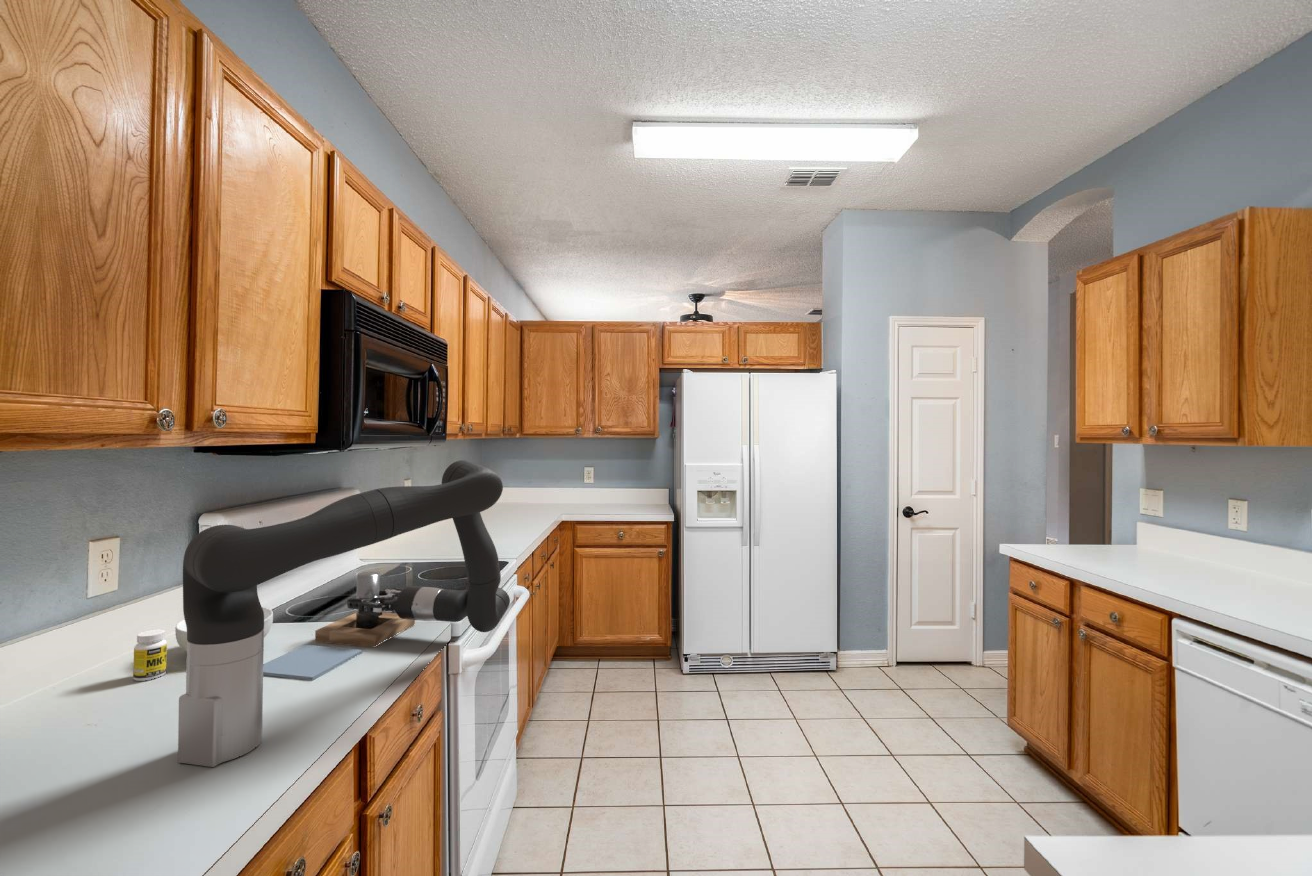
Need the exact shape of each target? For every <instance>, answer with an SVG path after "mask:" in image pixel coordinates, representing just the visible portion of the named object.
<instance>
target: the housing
mask: <svg viewBox="0 0 1312 876" xmlns="http://www.w3.org/2000/svg"><path fill="white" fill-rule="evenodd" d="M414 624H415V625H416V620H408V619H401V618H400V617H399V616H398V614H397V613H396V612H395V613H393V612H382V615H381V616H379V626H377V627H375V628H373V629H363V628H355V627H356V612H354V613H351V614H350V615H348V616H345V617H343V618H341V619H339V620H336V621H334V622H332V623H329V624H327V625H325V626H322V627H320V628H318V629H317V630H316V629H315V630H314V631H315V632H314V634H315V639H314V640H315V641H314V642H315V643H325V642H327V643H328V644H337V645H346V644H350V645H349V646H356V647H357V646H360V647H367V646H376V645H378V644H379V643H381V642H383V641H384V640H386V639H389V638H390V637H392V638H394V637H395V636H394V635H396V634H397V633H399V632H401V633H403V632H404V631H403V630H405V629H407V628H409V627H410V628H412V627H414V626H415V625H414ZM413 625H414V626H413ZM411 626H412V627H411ZM410 628H409V629H410ZM407 630H408V629H407ZM402 631H403V632H402ZM405 631H406V630H405ZM393 636H394V637H393ZM396 636H397V635H396ZM389 640H390V639H389ZM383 643H384V642H383ZM378 646H379V645H378ZM376 647H377V646H376Z"/></svg>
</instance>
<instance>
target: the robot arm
mask: <svg viewBox="0 0 1312 876" xmlns="http://www.w3.org/2000/svg"><path fill="white" fill-rule="evenodd" d="M503 490H504V486H503V481H502V479H501V477H500V476H499V474H497V473H496V472H495V471H494V470H491V469H490V468H488V467H486V466H483V465H481V464H478V463H475V462H473V461H470V460H462V459H461V460H457V461H454V462H452V463H451V464H450V465H448V466H447V468H446V469H445V471H444V472H443V475H442V478H441V484H437V485H436V484H435V485H420V486H419V485H417V486H415V485H414V486H413V485H410V486H409V485H405V486H404V485H403V486H400V485H399V486H390V487H389V486H386V487H381V488H380V487H379V488H376V489H371V490H367V491H364V492H363V491H362V492H360V493H355V494H351V495H349V496H346V497H344V498H341V499H338V500H336V501H334V502H332V503H330V504H327V505H326V506H324V507H323V508H320V509H319V510H317V511H314V512H313V513H311V514H308V515H307V516H304V517H301V518H298V519H294V520H291V521H285V522H281V523H278V524H277V523H276V524H273V525H272V524H271V525H268V526H262V527H256V528H244V527H241V526H239V525H234V524H218V525H217V524H216V525H214V526H210V527H207V528H205V529H204V530H202V531H200V532H199V533H197V534H196V535H195V536H194V537H193V538H192V539H191V540H190V541H189V543H188V544H187V546H186V548H185V550H184V551H185V552H184V554H183V561H182V606H183V607H182V609H183V610H182V611H183V618H184V619H185V622H186V627H187V651H186V667H185V670H186V672H185V673H186V675H185V678H186V679H185V681H186V682H185V693H184V694H181V695H180V696H179V698H178V724H177V725H178V726H177V728H178V730H177V733H178V734H177V738H178V739H177V762H178V763H182V764H189V765H196V766H203V767H209V768H214V767H216V766H218V765H220V764H221V763H225V762H228V761H231V760H233V759H237V758H239V756H240V757H242V756H244V755H246V754H248V753H250V752H251V751H253V750H254V749H255V747H256V748H257V747H258V746H259V745H260V744H261V743H262V740H263V712H264V711H263V704H264V702H263V701H264V700H263V699H264V697H263V696H264V695H263V693H264V675H263V664H264V647H265V645H264V644H265V643H264V640H265V637H264V611H263V609H262V607H263V606H262V604H261V601H260V598H259V594H258V586H259V585H260V584H264V583H266V582H268V581H270V580H273V579H274V578H275V579H276V578H277V577H279V576H281V575H284V574H286V573H288V572H291V571H293V570H295V569H298V568H300V567H302V566H305V565H308V564H310V563H313V562H316V561H320V560H322V559H323V560H324V559H328V558H331V557H334V556H338V555H341V554H345V553H347V552H351V551H354V550H357V549H360V548H363V547H364V548H365V547H368V546H371V545H374V544H377V543H381V542H384V541H386V540H389V539H392V538H394V537H397V536H400V535H403V534H405V533H409V532H412V531H414V530H418V529H422V528H424V527H427V526H430V525H433V524H436V523H439V522H442V521H447V520H451V519H452V520H453V524H454V527H455V530H456V533H457V537H458V539H459V542H460V543H459V544H460V546H461V551H462V556H463V559H464V566H465V572H466V577H467V583H468V588H466V589H462V590H455V589H444V588H438V587H433V586H432V587H431V586H430V587H429V586H417V585H406V586H405V587H392V588H391V589H389V588H387V589H385V590H383V589H379V596H374V597H373V598H372V599H357V598H355V597H350V598H348V599H347V602H346V604H347V608H348V609H352V610H356V609H358V614H367V615H376V616H381V615H382V612H384V613H393V612H395V613H396V614H398V616H399V617H400V618H401V619H408V620H415V621H421V622H448V623H458V622H460V621H463V620H464V619H465V618H466V617H467V619H468V622H469V624H470V626H471V627H472V628H473V630H475V631H477V632H479V633H489V632H491V631H493V630H494V629H496V627H497V626H498V624H499V623H500V622H501V619H503V617H504V615H505V613H506V612H507V611H508V609H509V607H510V604H511V603H510V602H511V600H510V599H511V598H510V596H509V593H508V592H507V591H505V589H503V588H501V587H499V586H500V584H501V581H502V580H501V579H502V578H501V569H500V562H499V561H500V559H499V555H498V551H497V549H496V546H495V544H494V541H493V540H492V537H491V535H490V533H489V531H488V529H487V527H486V524H485V523H484V520H483V517H482V514H481V513H482V512H485V511H486V510H488V509H490V508H491V507H493V506H494V505H495V504H496V503H497V502H498V501H499V500H500V498H501V496H502V494H503ZM377 600H379V603H377Z"/></svg>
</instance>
